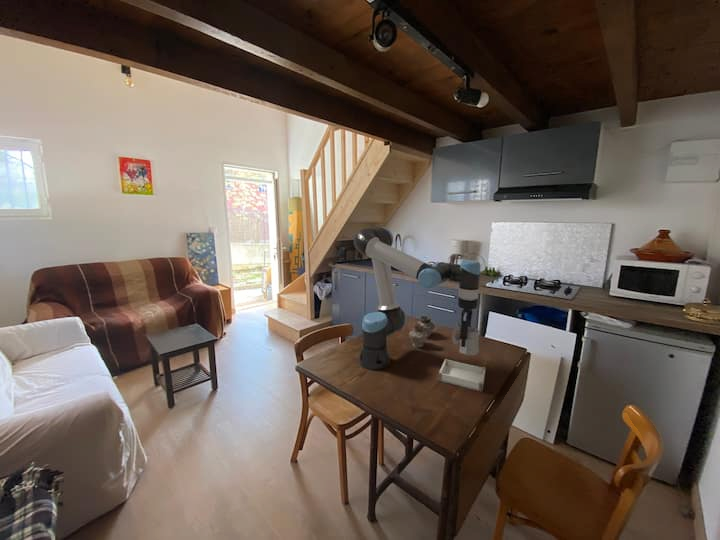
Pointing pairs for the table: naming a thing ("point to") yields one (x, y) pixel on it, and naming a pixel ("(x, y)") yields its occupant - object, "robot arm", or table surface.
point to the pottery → (421, 331)
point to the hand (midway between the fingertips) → (464, 348)
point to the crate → (462, 375)
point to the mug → (468, 339)
